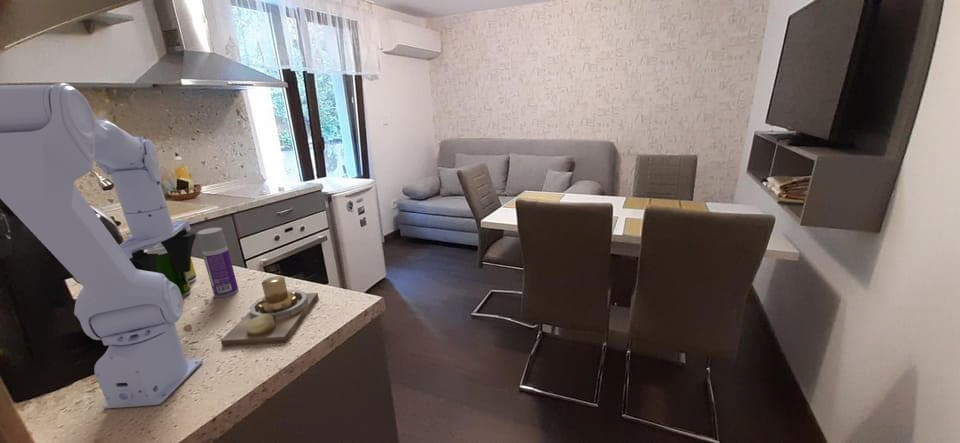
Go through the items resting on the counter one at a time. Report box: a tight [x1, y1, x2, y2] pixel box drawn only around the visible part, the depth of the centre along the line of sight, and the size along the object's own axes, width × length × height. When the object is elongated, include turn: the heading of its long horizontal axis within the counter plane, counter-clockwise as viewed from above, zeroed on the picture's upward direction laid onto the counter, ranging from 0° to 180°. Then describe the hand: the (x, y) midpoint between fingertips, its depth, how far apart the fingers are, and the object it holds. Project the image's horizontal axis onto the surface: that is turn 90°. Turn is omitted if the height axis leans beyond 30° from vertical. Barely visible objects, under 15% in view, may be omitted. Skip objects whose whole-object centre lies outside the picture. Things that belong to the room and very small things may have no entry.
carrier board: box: [220, 289, 319, 347], centre depth 73 cm, size 16×11×3 cm
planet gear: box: [258, 275, 297, 314], centre depth 74 cm, size 7×7×6 cm
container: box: [196, 227, 239, 299], centre depth 82 cm, size 5×5×15 cm
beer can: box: [146, 244, 192, 298], centre depth 82 cm, size 5×5×12 cm
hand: (169, 280), depth 67 cm, fingers open, 7 cm apart
